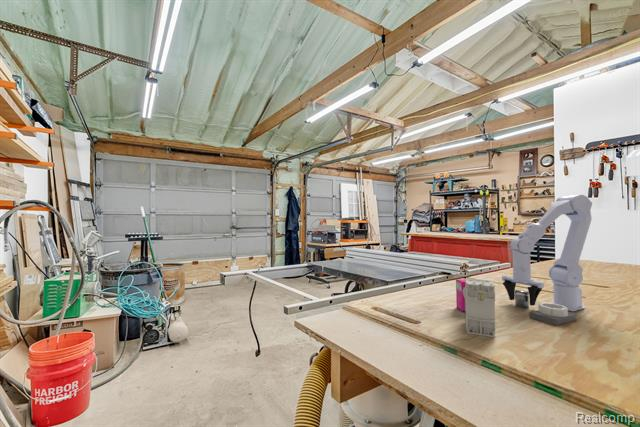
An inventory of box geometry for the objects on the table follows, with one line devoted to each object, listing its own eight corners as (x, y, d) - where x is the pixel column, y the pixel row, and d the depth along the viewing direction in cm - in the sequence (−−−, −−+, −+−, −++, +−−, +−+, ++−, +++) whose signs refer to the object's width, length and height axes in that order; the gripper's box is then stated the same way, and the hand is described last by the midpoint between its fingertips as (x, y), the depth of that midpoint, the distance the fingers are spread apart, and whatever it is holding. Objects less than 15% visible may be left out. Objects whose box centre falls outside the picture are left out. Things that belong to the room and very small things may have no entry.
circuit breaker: (489, 321, 97) (489, 277, 97) (495, 337, 84) (495, 286, 84) (464, 318, 100) (464, 275, 100) (466, 333, 87) (466, 283, 87)
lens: (519, 304, 116) (519, 289, 116) (531, 307, 111) (531, 292, 112) (512, 305, 114) (512, 290, 114) (524, 308, 110) (524, 293, 110)
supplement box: (471, 308, 111) (471, 278, 111) (478, 313, 105) (478, 282, 105) (455, 307, 111) (455, 278, 111) (461, 312, 105) (461, 281, 106)
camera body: (549, 312, 105) (549, 300, 105) (576, 320, 98) (576, 306, 98) (530, 317, 100) (529, 304, 100) (556, 325, 93) (556, 311, 93)
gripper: (497, 265, 118) (497, 298, 118) (535, 272, 105) (536, 308, 104) (507, 264, 121) (508, 296, 120) (546, 270, 107) (547, 306, 107)
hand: (521, 302), depth 113 cm, fingers open, 7 cm apart
